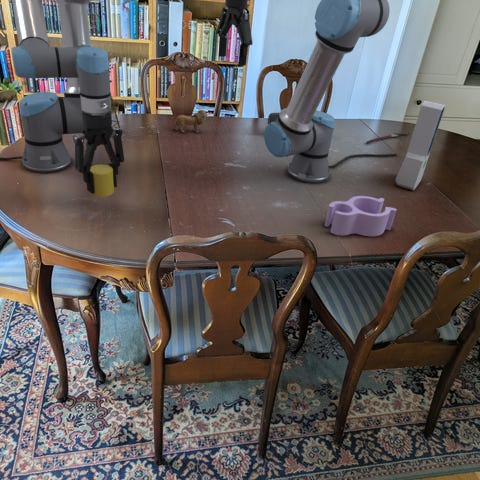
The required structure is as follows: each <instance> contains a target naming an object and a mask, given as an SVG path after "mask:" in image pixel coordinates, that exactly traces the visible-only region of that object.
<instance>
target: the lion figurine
mask: <svg viewBox="0 0 480 480" xmlns="http://www.w3.org/2000/svg"><path fill="white" fill-rule="evenodd" d="M206 118H207V111H206V110H204V109H199V110H197V112H195V113H194V114H193V115H191V116H188V115H184V114H181V115H178V116H177V117H176V119H175V122H174V126H173V128H172V129H171V131H175V130H176V131H178V130H180V132H181V133H183V134H184V133H185V132H186V131H185V130H184V129H183V127H184V125H187V126H193V128H192V129H193V131H195V133H197V134H198V133H200V131H199V126H201V125H203V123H204V122H205V121H206ZM178 126H179V128H178Z"/></svg>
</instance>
